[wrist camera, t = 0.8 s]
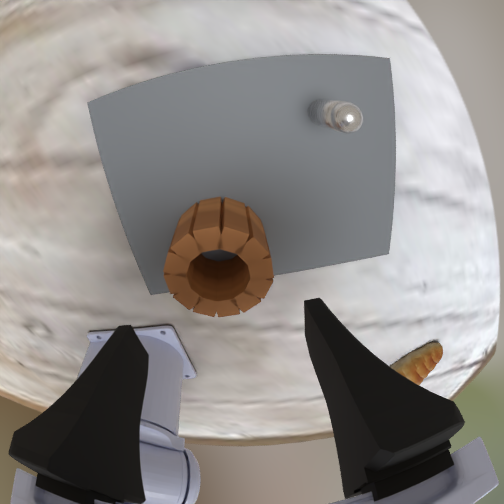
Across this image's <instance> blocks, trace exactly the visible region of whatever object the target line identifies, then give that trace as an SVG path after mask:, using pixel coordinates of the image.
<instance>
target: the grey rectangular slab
mask: <svg viewBox="0 0 504 504" xmlns="http://www.w3.org/2000/svg"><path fill="white" fill-rule="evenodd" d="M315 100H335V101H347V102H351V103H353V104H355V105H356V106H357V107H358V108H359V109H360V110H361V112H362V115H363V122H362V125H361V127H360V128H359V129H358V130H357V131H356V132H354V133H350V134H345V133H341V132H339V131H336V130H333V129H330V128H327V127H325V126H322V125H319V124H316V123H314V122H313V121H312V120H311V119H310V118H309V115H308V108H309V105H310V104H311V103H312V102H313V101H315ZM88 108H89V112H90V117H91V121H92V126H93V130H94V134H95V138H96V142H97V146H98V150H99V153H100V157H101V161H102V164H103V168H104V171H105V174H106V178H107V181H108V184H109V187H110V190H111V194H112V197H113V200H114V203H115V206H116V209H117V211H118V214H119V217H120V220H121V223H122V226H123V228H124V231H125V234H126V236H127V239H128V242H129V244H130V247H131V249H132V252H133V254H134V257H135V259H136V262H137V264H138V267H139V269H140V271H141V274H142V276H143V278H144V281H145V283H146V285H147V288H148V290H149V292H150V294H151V295H153V294H160V293H167V292H170V291H169V289H168V286H167V284H166V281H165V279H164V276H163V275H164V272H163V270H164V266H165V262H166V258H167V254H168V250H169V247H170V244H171V242H172V239H173V236H174V233H175V230H176V227H177V224H178V221H179V219H180V218H181V216H182V214H183V213H184V212H186V211H187V210H188V209H189V208H190V207H191V206H193V205H194V204H195V203H196V202H197V203H198V204H199V203H200V200H205V199H210V198H215V197H221V201H222V203H223V201H224V198H225V197H227V198H230V199H233V200H236V201H239V202H242V203H245V207H247V206H249V207H250V208H251V209H252V210H253V212H254V213H255V214H256V215H257V216H258V217H259V218H260V219H261V223H262V224H263V228H264V231H265V235H266V239H267V243H268V247H269V251H270V255H271V259H272V267H273V275H274V276H275V275H280V274H286V273H292V272H297V271H303V270H309V269H314V268H319V267H325V266H330V265H335V264H341V263H346V262H351V261H356V260H361V259H366V258H372V257H377V256H381V255H386V254H389V249H390V240H391V231H392V221H393V209H394V194H395V169H396V132H395V108H394V93H393V82H392V73H391V64H390V58H382V57H372V56H359V55H337V54H308V55H285V56H272V57H261V58H252V59H244V60H237V61H231V62H224V63H219V64H213V65H208V66H203V67H198V68H193V69H189V70H185V71H181V72H177V73H173V74H169V75H165V76H161V77H158V78H154V79H151V80H148V81H145V82H141V83H138V84H135V85H132V86H129V87H126V88H124V89H121V90H118V91H115V92H113V93H110V94H107V95H105V96H102V97H100V98H97V99H95V100H93V101H90V102H88ZM201 254H202V255H203V256H204V257H205V258H208V259H211V260H215V261H224V260H230V259H232V258H234V257H235V256H236V255H237V254H235V253H232V252H228V251H225V250H221V249H217V250H212V251H206V252H202V253H201Z"/></svg>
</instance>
